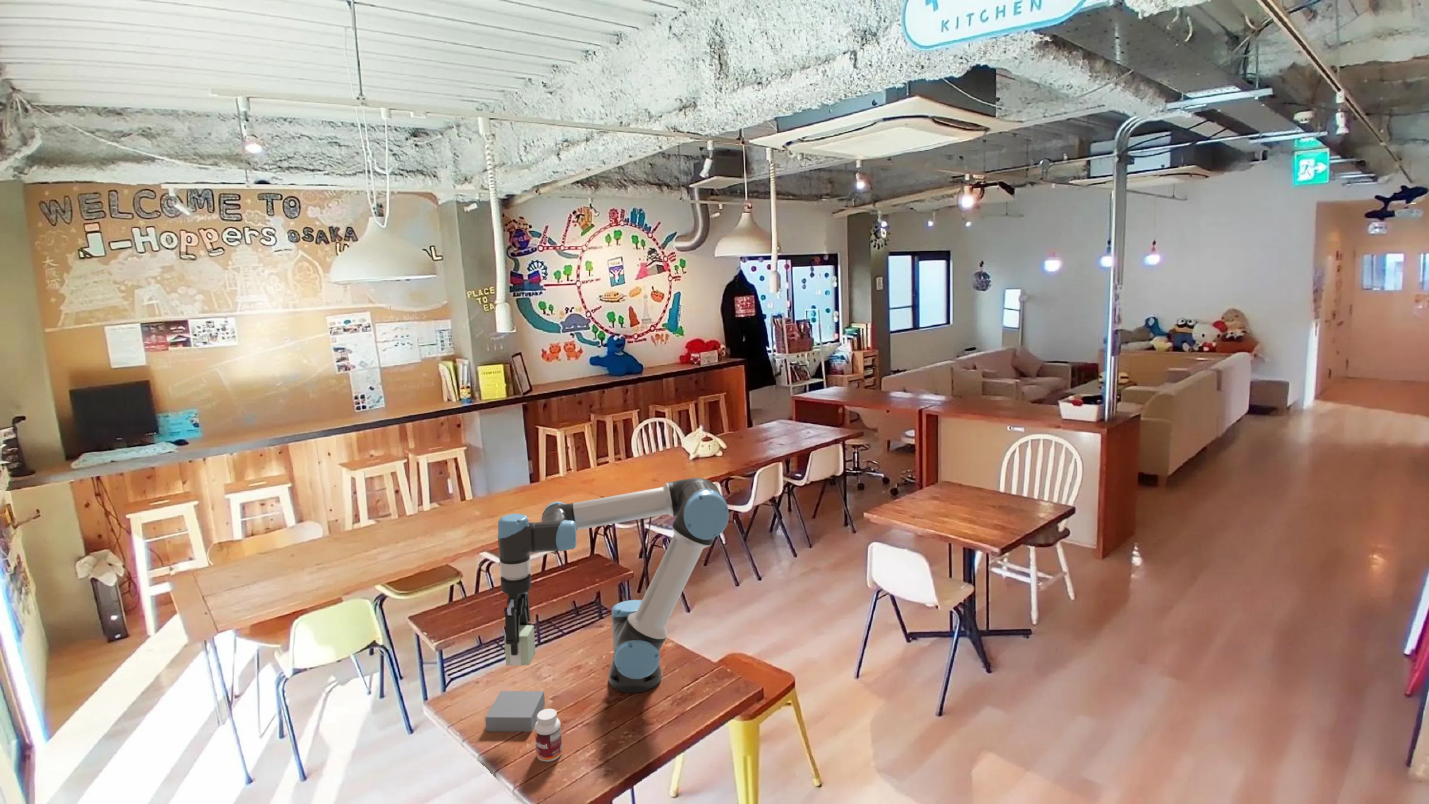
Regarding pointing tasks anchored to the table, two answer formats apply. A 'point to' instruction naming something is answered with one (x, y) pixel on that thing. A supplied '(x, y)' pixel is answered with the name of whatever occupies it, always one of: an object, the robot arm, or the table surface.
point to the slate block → (515, 711)
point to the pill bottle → (548, 735)
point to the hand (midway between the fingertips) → (520, 657)
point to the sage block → (523, 645)
